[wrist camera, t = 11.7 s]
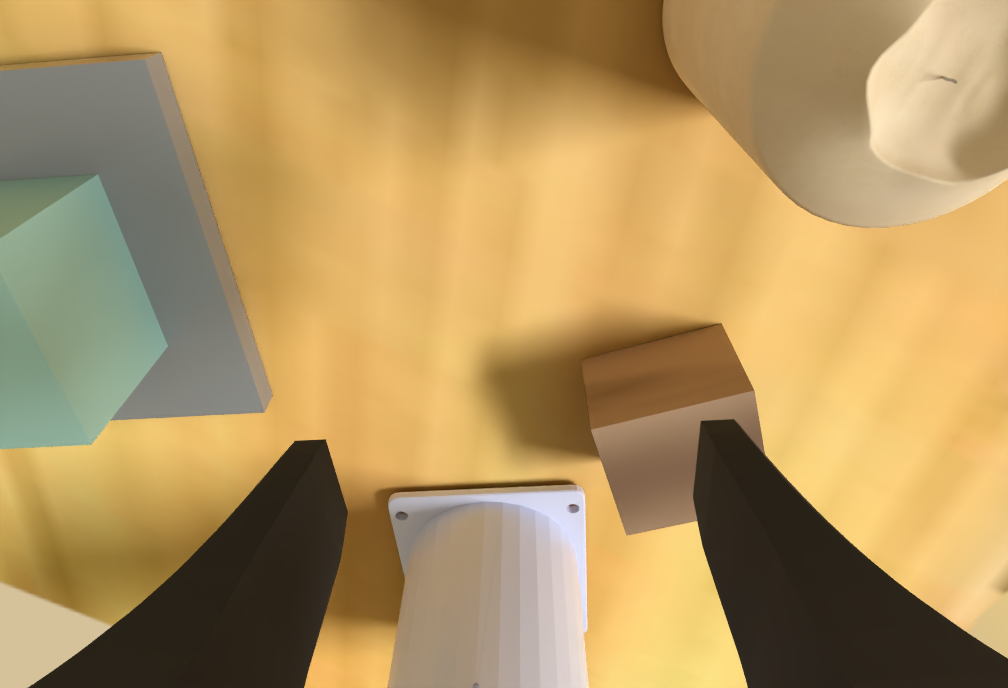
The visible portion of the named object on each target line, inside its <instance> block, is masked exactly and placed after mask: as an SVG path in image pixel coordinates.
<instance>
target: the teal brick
mask: <svg viewBox="0 0 1008 688" xmlns="http://www.w3.org/2000/svg"><path fill="white" fill-rule="evenodd" d="M167 347H168V345H167V342H166V340H165V337H164V335H163V333H162V330H161V328H160V325H159V323H158V320H157V318H156V315H155V313H154V310H153V308H152V306H151V303H150V301H149V298H148V296H147V293H146V291H145V288H144V286H143V283H142V281H141V279H140V276H139V274H138V271H137V269H136V266H135V264H134V261H133V259H132V257H131V254H130V252H129V249H128V247H127V244H126V242H125V239H124V237H123V234H122V232H121V230H120V227H119V225H118V222H117V220H116V217H115V215H114V212H113V210H112V207H111V205H110V203H109V200H108V198H107V195H106V193H105V190H104V188H103V185H102V183H101V180H100V178H99V176H98V174H96V175H81V176H67V177H53V178H39V179H25V180H11V181H0V449H11V448H32V447H52V446H73V445H91V444H92V443H93V442H94V440H95V439H96V438H97V437H98V435H99V434H100V433H101V431H102V430H103V429H104V428H105V426H106V425H107V424H108V423H109V421H110V420H111V419H112V417H113V416H114V415H115V414H116V412H117V411H118V410H119V408H120V407H121V406H122V405H123V403H124V402H125V401H126V399H127V398H128V397H129V396H130V394H131V393H132V392H133V391H134V389H135V388H136V387H137V385H138V384H139V383H140V382H141V380H142V379H143V378H144V376H145V375H146V374H147V373H148V371H149V370H150V369H151V367H152V366H153V365H154V364H155V362H156V361H157V360H158V359H159V357H160V356H161V355H162V353H163V352H164V351H165V350H166V348H167Z"/></svg>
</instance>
